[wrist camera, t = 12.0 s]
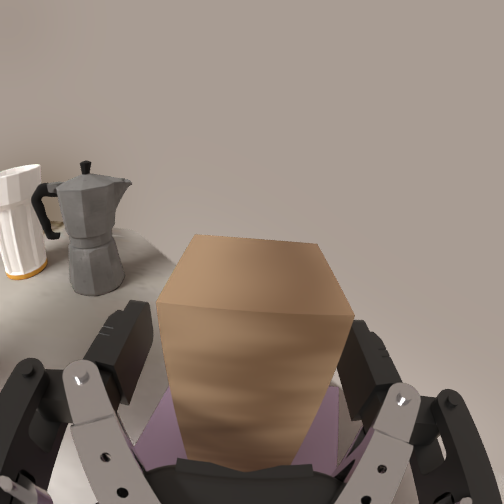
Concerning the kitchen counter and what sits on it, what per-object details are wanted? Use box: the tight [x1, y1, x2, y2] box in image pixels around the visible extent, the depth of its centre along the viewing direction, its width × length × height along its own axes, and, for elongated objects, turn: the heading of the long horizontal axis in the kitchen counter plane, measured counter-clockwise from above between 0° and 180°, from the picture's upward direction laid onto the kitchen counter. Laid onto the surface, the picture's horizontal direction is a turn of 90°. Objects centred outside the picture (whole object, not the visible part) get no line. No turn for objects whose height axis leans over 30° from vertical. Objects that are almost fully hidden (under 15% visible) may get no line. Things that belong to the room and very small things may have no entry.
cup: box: [0, 164, 47, 280], centre depth 33 cm, size 11×11×17 cm
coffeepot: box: [31, 161, 132, 296], centre depth 33 cm, size 15×9×18 cm, turn 115°
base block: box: [134, 386, 339, 476], centre depth 15 cm, size 12×12×6 cm
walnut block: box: [156, 235, 355, 472], centre depth 11 cm, size 5×5×12 cm
